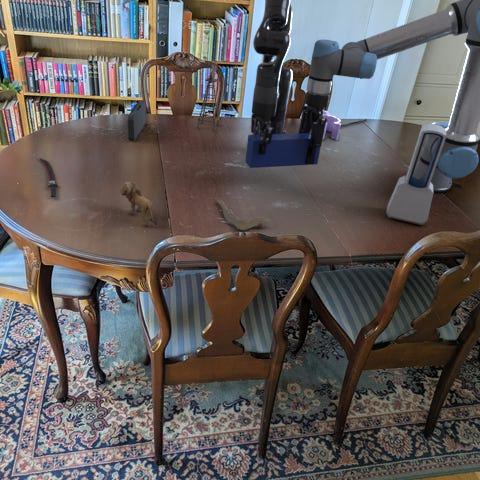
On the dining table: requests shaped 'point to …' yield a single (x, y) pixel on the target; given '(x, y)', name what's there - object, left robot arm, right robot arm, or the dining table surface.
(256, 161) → the bar
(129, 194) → the lion figurine
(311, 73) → the right robot arm
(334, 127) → the clip
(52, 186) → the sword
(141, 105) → the handheld gaming console
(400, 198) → the electronic device
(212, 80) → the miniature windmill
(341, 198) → the dining table surface
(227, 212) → the jawbone
